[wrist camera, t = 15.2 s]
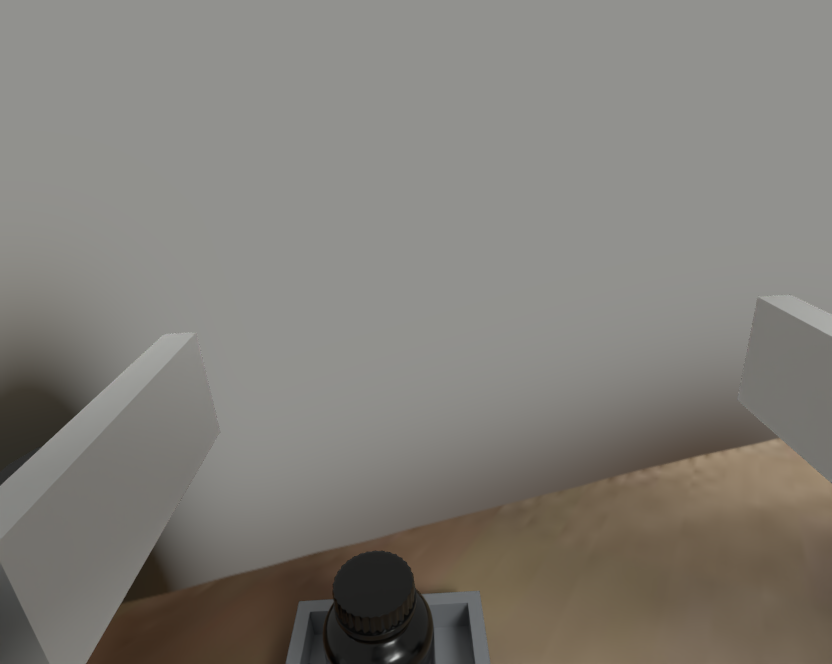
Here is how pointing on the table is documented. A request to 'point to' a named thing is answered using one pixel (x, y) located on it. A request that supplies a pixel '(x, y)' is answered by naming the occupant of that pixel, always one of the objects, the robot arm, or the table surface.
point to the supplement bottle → (378, 614)
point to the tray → (452, 617)
